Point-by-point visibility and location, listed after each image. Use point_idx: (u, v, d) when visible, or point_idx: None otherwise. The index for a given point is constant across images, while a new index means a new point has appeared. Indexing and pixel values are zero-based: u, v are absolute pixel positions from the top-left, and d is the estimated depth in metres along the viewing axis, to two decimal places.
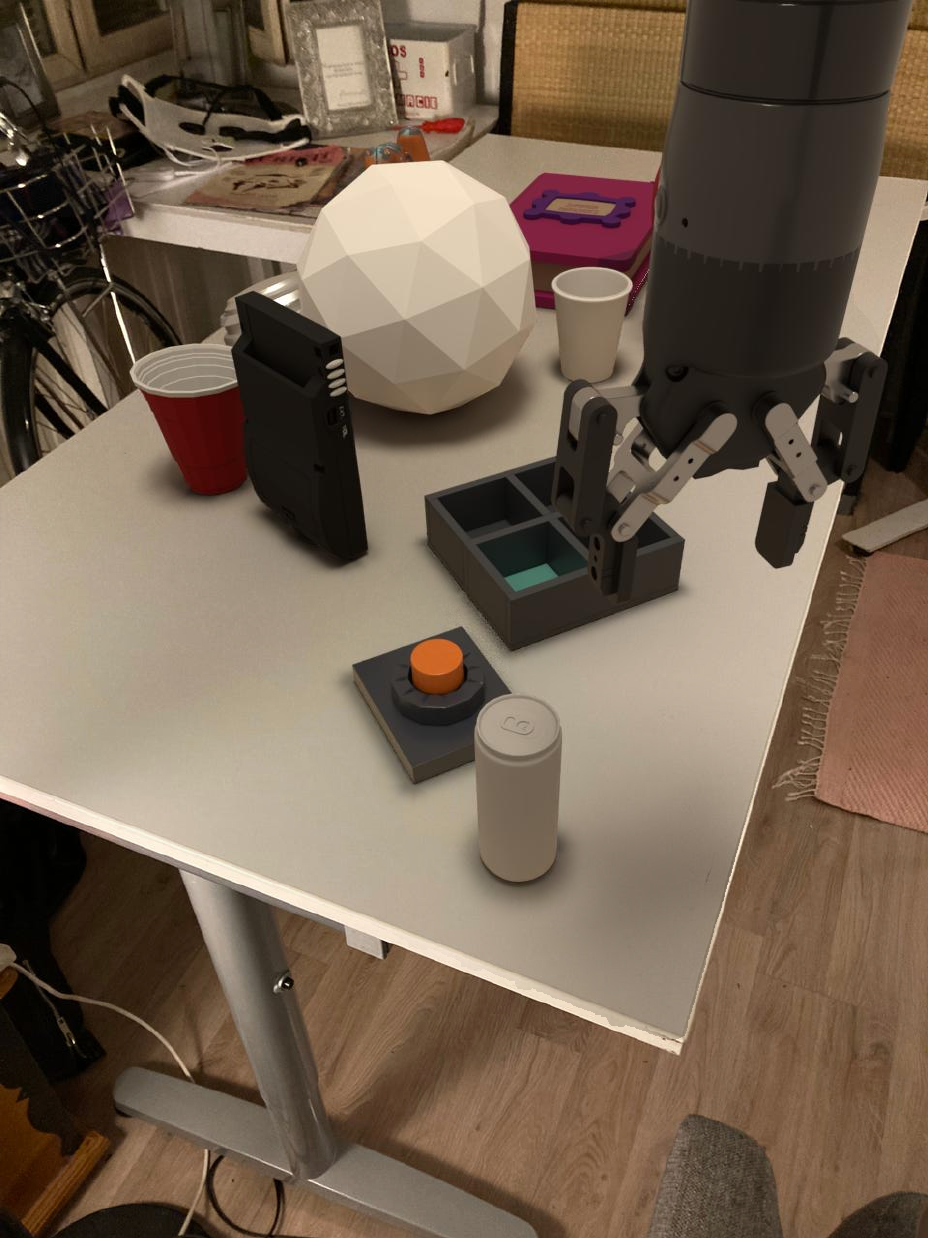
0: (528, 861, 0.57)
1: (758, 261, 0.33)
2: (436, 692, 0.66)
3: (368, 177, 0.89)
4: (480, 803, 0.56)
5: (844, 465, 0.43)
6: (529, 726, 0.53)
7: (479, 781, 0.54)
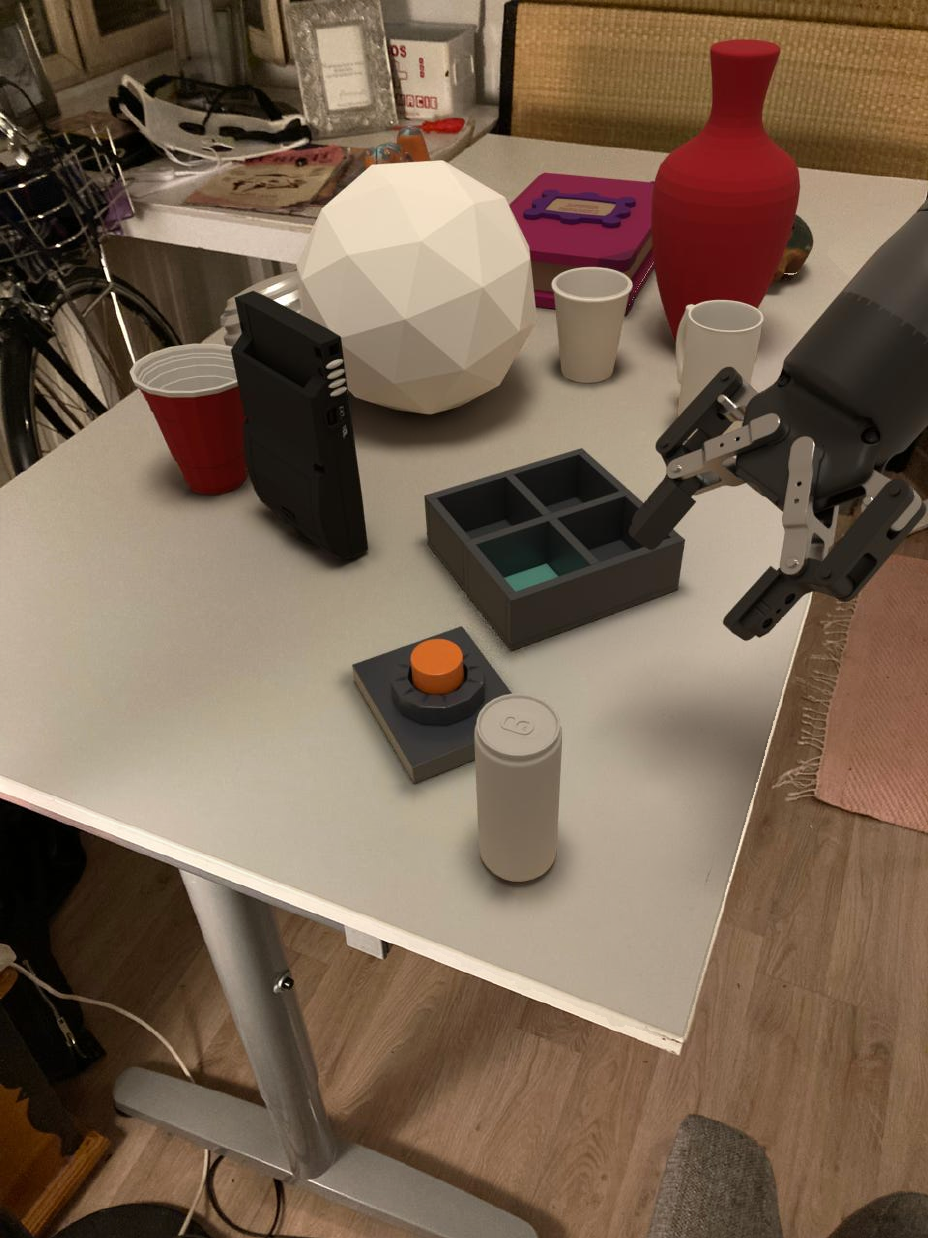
0: (528, 861, 0.57)
1: (847, 290, 0.47)
2: (436, 692, 0.66)
3: (368, 177, 0.89)
4: (480, 803, 0.56)
5: (824, 560, 0.46)
6: (529, 726, 0.53)
7: (479, 781, 0.54)
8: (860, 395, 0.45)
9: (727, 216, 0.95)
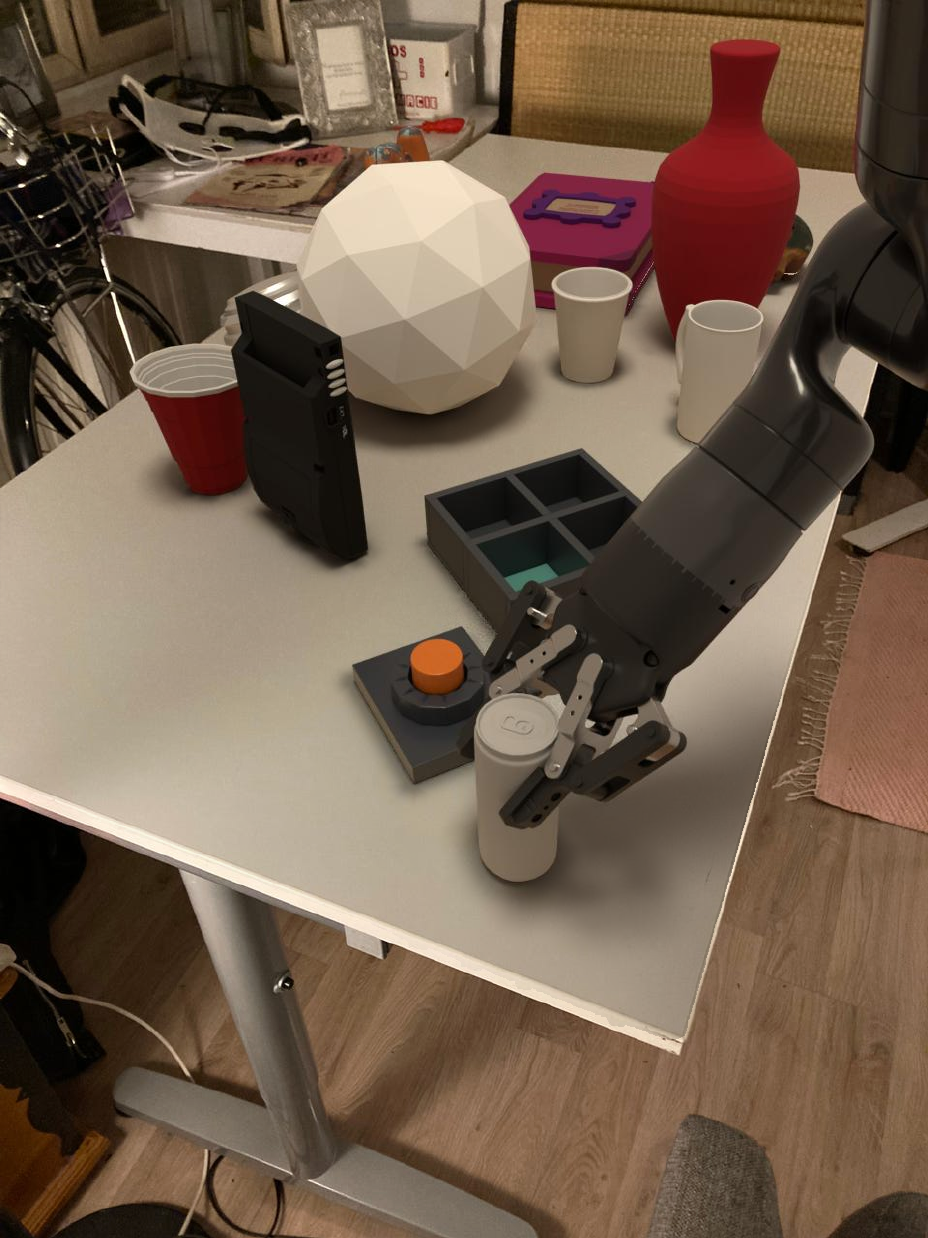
0: (528, 861, 0.57)
1: (632, 518, 0.50)
2: (436, 692, 0.66)
3: (368, 177, 0.89)
4: (480, 803, 0.56)
5: (581, 769, 0.50)
6: (529, 726, 0.53)
7: (479, 781, 0.54)
8: (637, 625, 0.48)
9: (728, 215, 0.95)
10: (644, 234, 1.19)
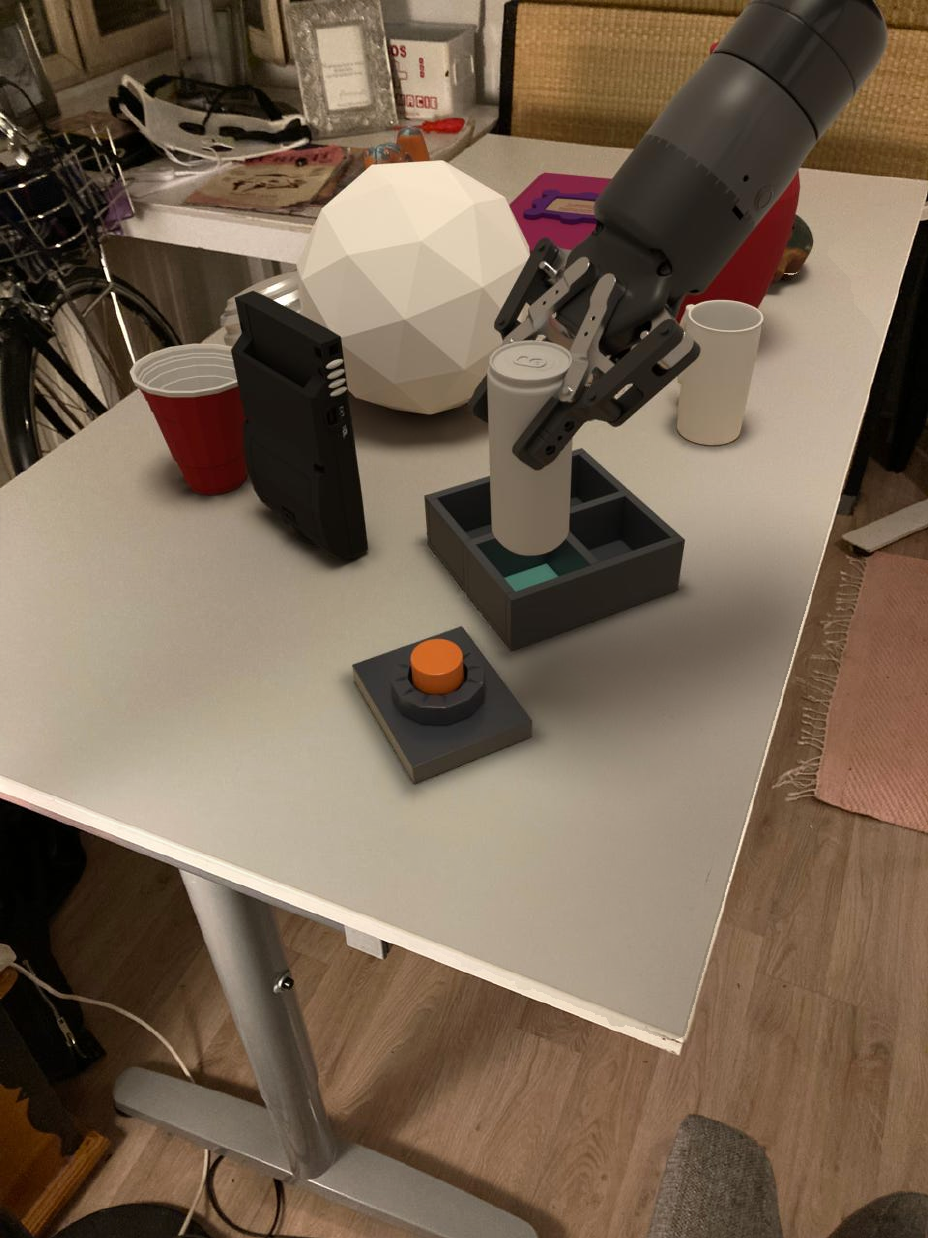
0: (541, 525, 0.57)
1: (645, 134, 0.50)
2: (436, 692, 0.66)
3: (368, 177, 0.89)
4: (493, 458, 0.56)
5: (595, 383, 0.50)
6: (542, 362, 0.53)
7: (492, 429, 0.55)
8: (650, 227, 0.48)
9: None
10: None
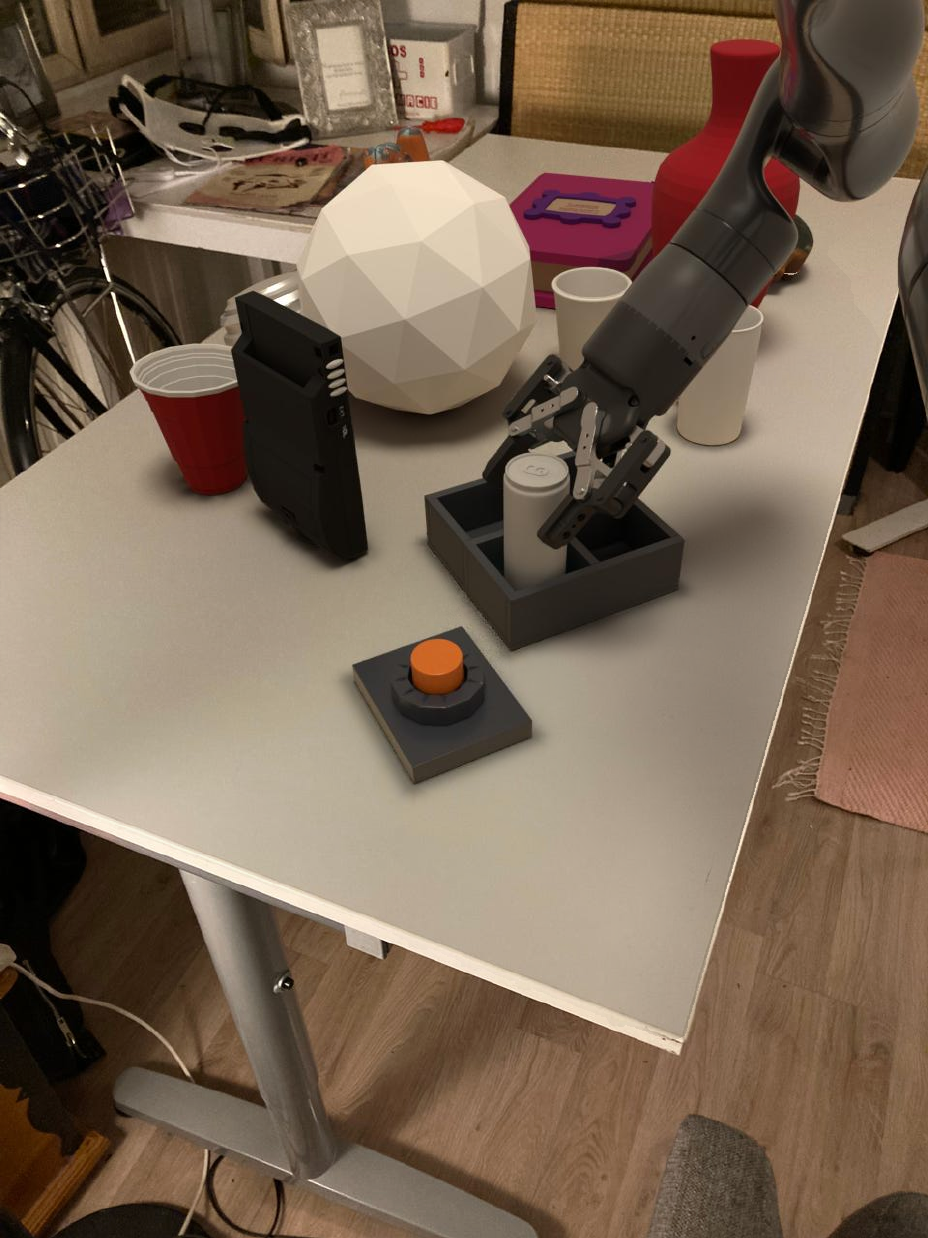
0: None
1: (620, 299, 0.67)
2: (436, 692, 0.66)
3: (368, 177, 0.89)
4: (507, 540, 0.73)
5: (599, 488, 0.65)
6: (545, 471, 0.70)
7: (506, 519, 0.72)
8: (623, 372, 0.65)
9: None
10: (644, 234, 1.19)
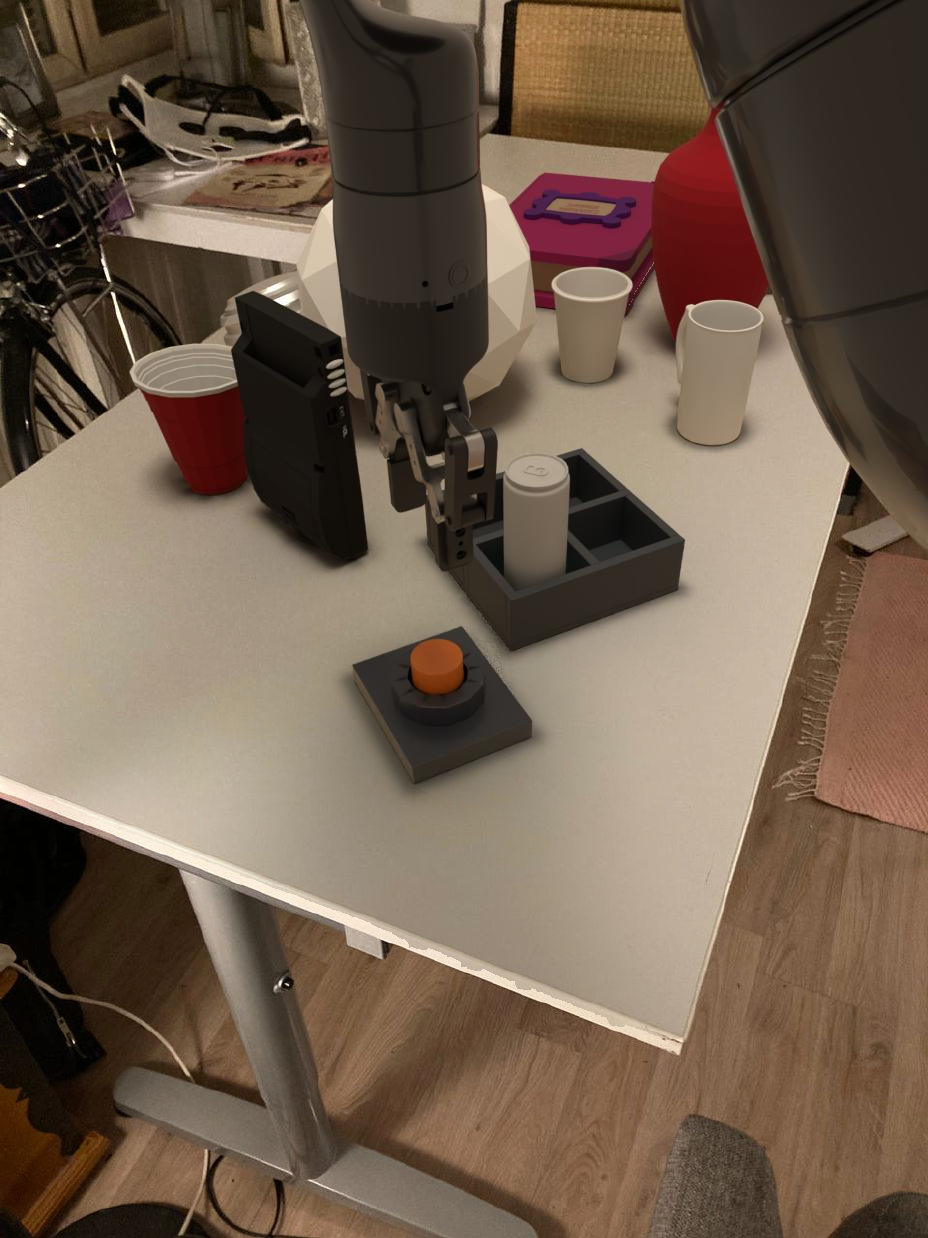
0: None
1: None
2: (436, 692, 0.66)
3: None
4: (507, 540, 0.73)
5: (445, 508, 0.52)
6: (545, 471, 0.70)
7: (506, 519, 0.72)
8: (386, 371, 0.49)
9: (728, 215, 0.95)
10: (644, 234, 1.18)
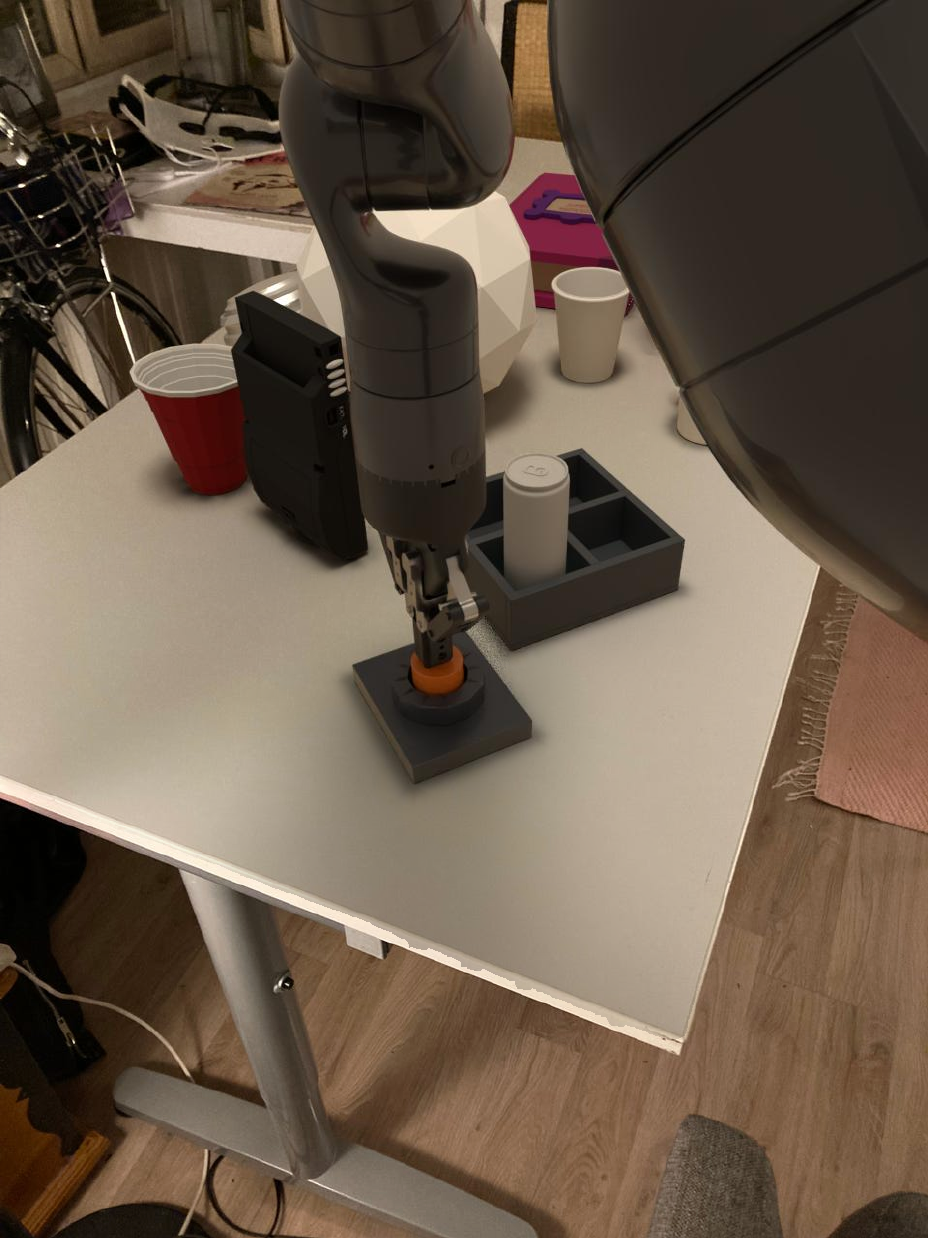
0: None
1: None
2: (436, 694, 0.67)
3: None
4: (506, 540, 0.73)
5: (429, 624, 0.61)
6: (545, 471, 0.70)
7: (506, 519, 0.72)
8: (396, 533, 0.56)
9: None
10: None
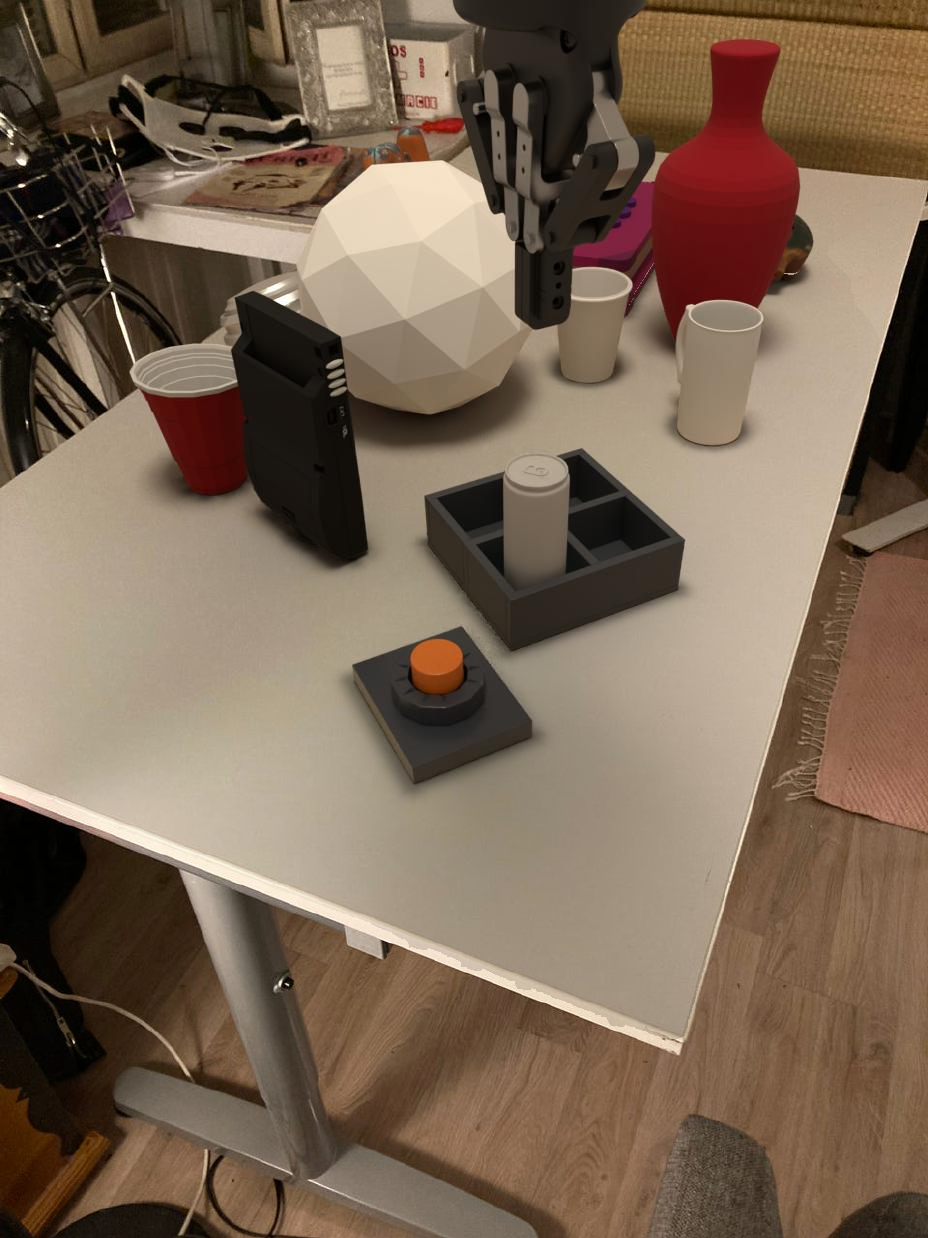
0: None
1: None
2: (436, 692, 0.66)
3: (368, 177, 0.89)
4: (506, 540, 0.73)
5: (549, 220, 0.41)
6: (545, 471, 0.70)
7: (506, 519, 0.72)
8: (515, 11, 0.35)
9: (728, 215, 0.95)
10: (644, 234, 1.18)
